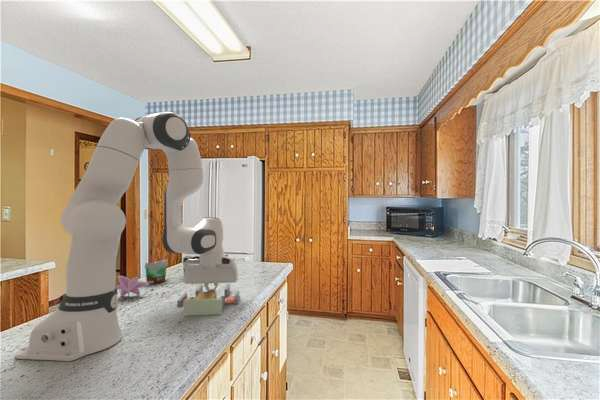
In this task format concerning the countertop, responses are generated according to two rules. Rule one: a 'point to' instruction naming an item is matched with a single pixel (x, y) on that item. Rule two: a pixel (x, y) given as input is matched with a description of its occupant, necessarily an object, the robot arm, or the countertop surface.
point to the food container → (156, 271)
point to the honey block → (206, 295)
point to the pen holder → (190, 258)
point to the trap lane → (206, 303)
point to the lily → (130, 285)
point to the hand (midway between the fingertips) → (211, 294)
